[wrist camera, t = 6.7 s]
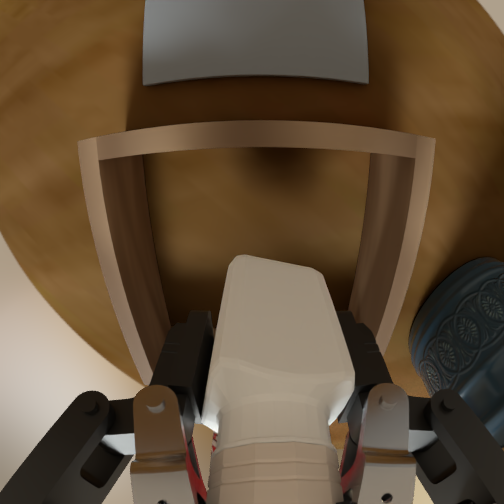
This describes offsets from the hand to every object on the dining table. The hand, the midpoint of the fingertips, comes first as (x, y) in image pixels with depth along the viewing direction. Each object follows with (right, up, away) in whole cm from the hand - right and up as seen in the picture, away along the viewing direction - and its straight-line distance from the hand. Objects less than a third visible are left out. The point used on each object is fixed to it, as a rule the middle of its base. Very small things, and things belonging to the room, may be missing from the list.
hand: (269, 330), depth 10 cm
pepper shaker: (0, +1, +2) cm, 3 cm away
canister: (+19, -3, +10) cm, 21 cm away
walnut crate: (0, +3, +7) cm, 7 cm away
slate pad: (0, +15, +1) cm, 15 cm away
